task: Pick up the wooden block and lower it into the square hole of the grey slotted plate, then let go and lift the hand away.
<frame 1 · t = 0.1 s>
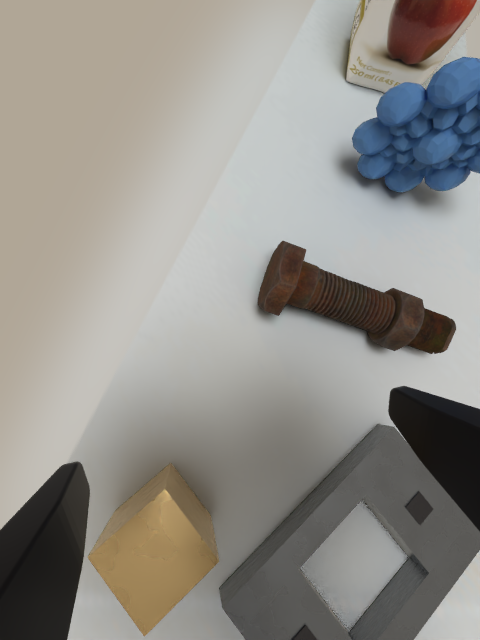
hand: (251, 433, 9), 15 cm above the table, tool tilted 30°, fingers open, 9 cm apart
grey slotted plate: (350, 555, 23), on the table
juice carton: (377, 70, 33), on the table
grapes: (390, 179, 31), on the table
wooden block: (163, 513, 21), on the table
bolt: (343, 314, 27), on the table
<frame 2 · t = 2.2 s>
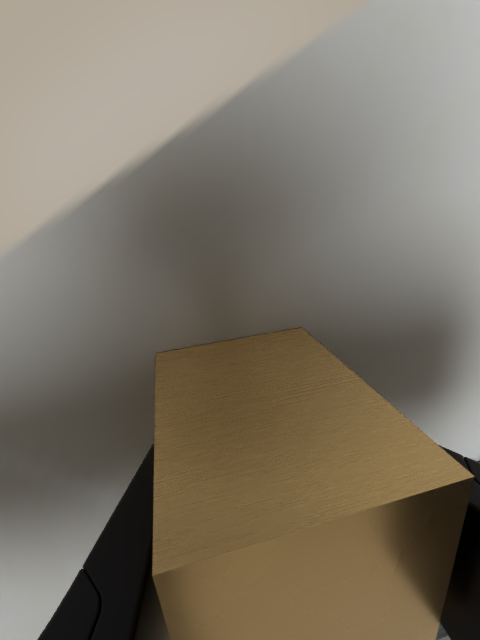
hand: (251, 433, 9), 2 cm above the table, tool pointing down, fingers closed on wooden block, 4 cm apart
wooden block: (238, 402, 10), on the table, touching gripper
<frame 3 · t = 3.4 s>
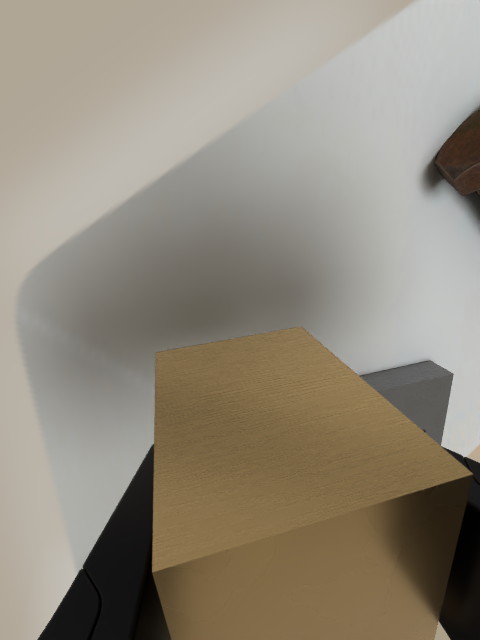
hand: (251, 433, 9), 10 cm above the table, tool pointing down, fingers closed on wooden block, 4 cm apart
grey slotted plate: (329, 440, 24), on the table
wooden block: (238, 401, 10), point 8 cm above the table, touching gripper
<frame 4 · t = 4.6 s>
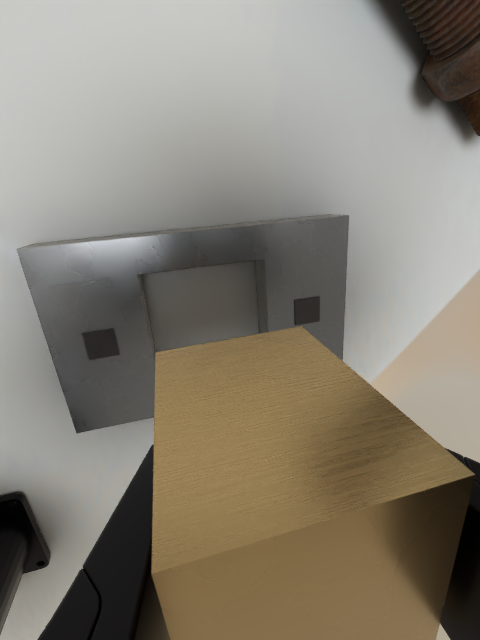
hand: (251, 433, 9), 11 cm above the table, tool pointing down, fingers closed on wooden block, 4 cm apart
grey slotted plate: (205, 314, 19), on the table
wooden block: (238, 401, 10), point 9 cm above the table, touching gripper
bolt: (406, 20, 17), on the table
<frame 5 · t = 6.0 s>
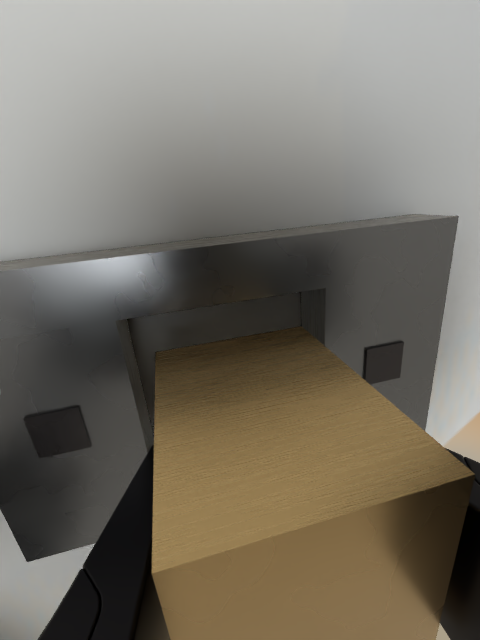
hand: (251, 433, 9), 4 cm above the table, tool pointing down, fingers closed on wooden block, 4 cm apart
grey slotted plate: (225, 366, 13), on the table
wooden block: (238, 401, 10), point 2 cm above the table, touching gripper
when the fingers open (4 cm above the table, at t = 6.9 s): wooden block drops 3 cm, resting in grey slotted plate.
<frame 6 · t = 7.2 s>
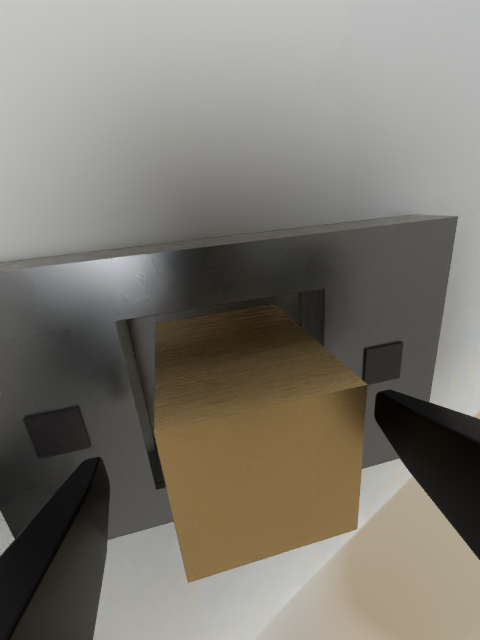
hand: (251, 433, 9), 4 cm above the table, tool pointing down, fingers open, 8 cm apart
grey slotted plate: (225, 366, 13), on the table
wooden block: (223, 365, 13), resting in grey slotted plate
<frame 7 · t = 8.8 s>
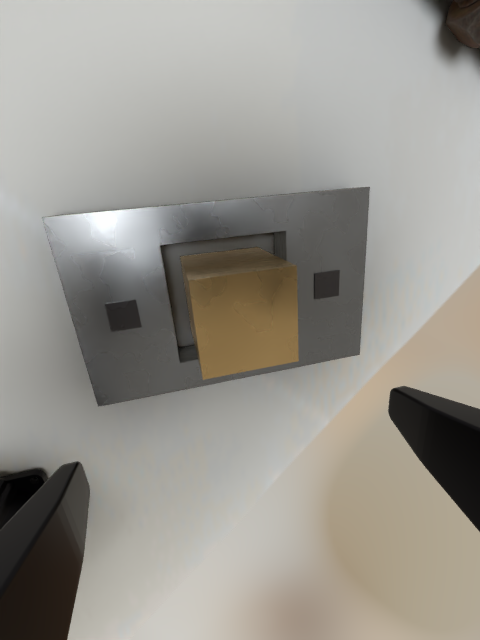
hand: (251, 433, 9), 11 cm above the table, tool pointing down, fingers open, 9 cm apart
grey slotted plate: (224, 289, 19), on the table
wooden block: (223, 289, 19), resting in grey slotted plate
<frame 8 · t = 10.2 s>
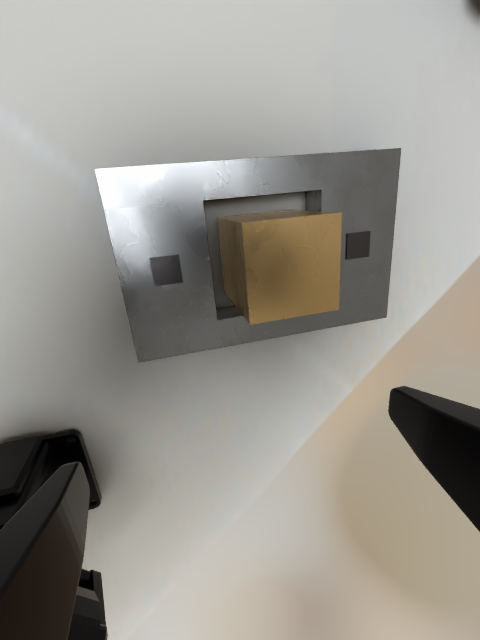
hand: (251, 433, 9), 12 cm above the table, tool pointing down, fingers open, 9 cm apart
grey slotted plate: (257, 252, 20), on the table
wooden block: (256, 251, 20), resting in grey slotted plate
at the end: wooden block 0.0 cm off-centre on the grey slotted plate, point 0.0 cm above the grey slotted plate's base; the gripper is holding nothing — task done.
